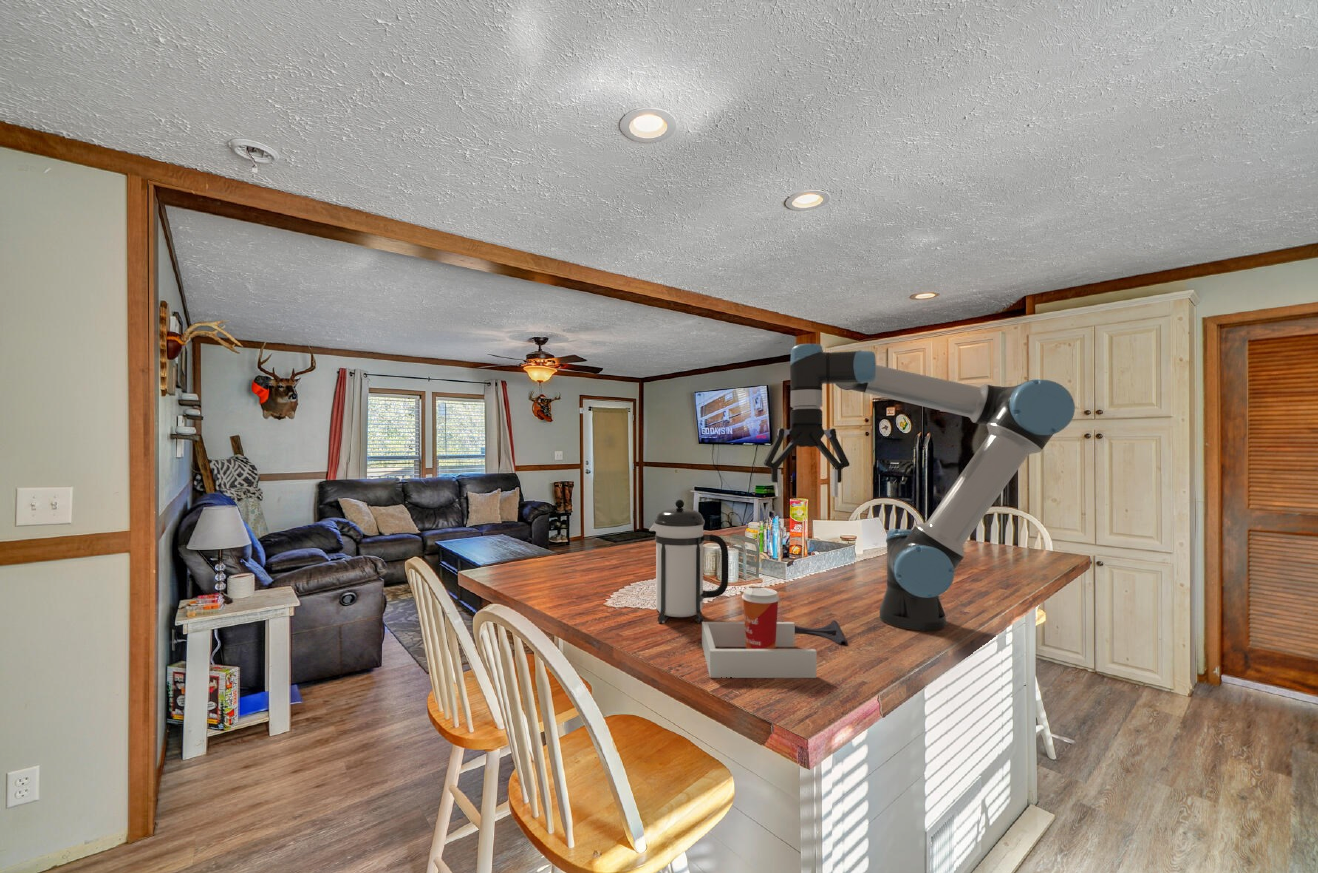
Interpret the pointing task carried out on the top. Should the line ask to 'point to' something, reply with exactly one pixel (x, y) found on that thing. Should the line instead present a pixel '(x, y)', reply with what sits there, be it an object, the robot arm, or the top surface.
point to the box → (754, 653)
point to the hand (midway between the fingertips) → (806, 496)
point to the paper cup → (760, 617)
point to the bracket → (825, 632)
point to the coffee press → (683, 563)
